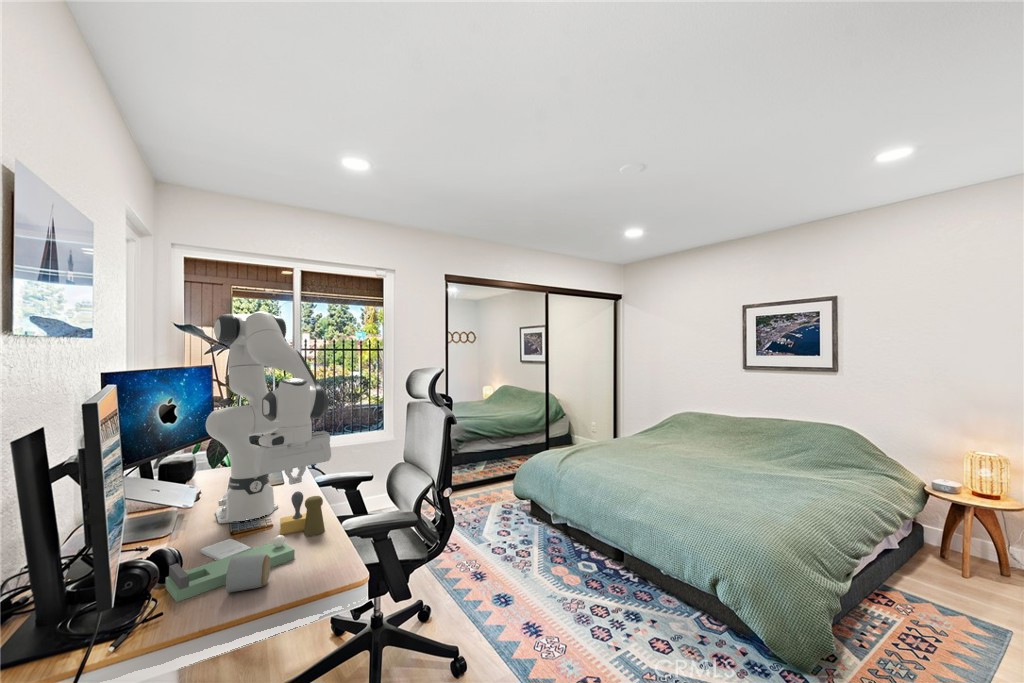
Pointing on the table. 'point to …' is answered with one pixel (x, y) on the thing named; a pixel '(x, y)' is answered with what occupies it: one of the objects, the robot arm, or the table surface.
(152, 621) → the table surface
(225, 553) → the external hard drive
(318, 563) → the table surface
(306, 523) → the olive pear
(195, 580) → the putting strip
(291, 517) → the rubber stamp
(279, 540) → the ball
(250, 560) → the ceramic mug
